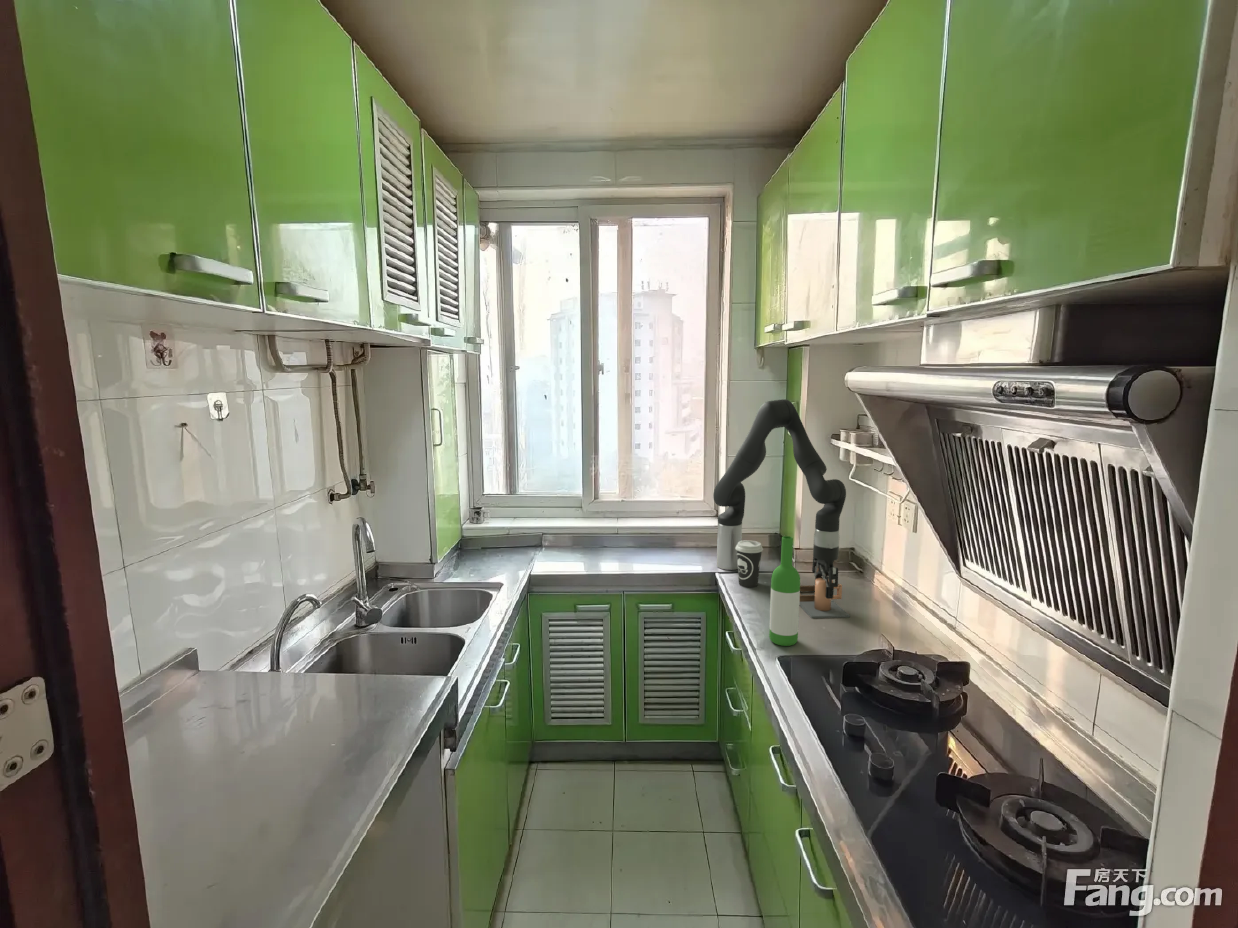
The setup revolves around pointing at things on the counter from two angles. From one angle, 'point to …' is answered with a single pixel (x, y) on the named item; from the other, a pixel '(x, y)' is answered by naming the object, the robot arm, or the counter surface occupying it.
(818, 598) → the orange mug
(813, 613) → the mat
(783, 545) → the wine bottle
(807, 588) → the holder
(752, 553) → the coffee cup
